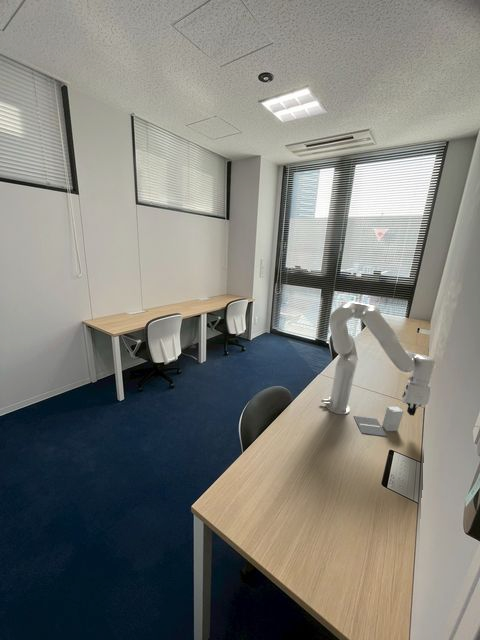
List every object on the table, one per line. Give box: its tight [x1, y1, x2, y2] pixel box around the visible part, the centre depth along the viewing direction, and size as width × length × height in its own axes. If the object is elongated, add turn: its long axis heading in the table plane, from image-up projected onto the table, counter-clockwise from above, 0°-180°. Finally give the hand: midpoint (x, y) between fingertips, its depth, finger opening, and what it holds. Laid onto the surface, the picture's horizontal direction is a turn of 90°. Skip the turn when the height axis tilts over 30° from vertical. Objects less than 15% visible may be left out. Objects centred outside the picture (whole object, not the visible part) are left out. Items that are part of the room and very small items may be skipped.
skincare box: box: [381, 406, 404, 432], centre depth 132 cm, size 6×4×12 cm
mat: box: [353, 415, 388, 438], centre depth 134 cm, size 12×13×1 cm
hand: (410, 413), depth 129 cm, fingers closed
